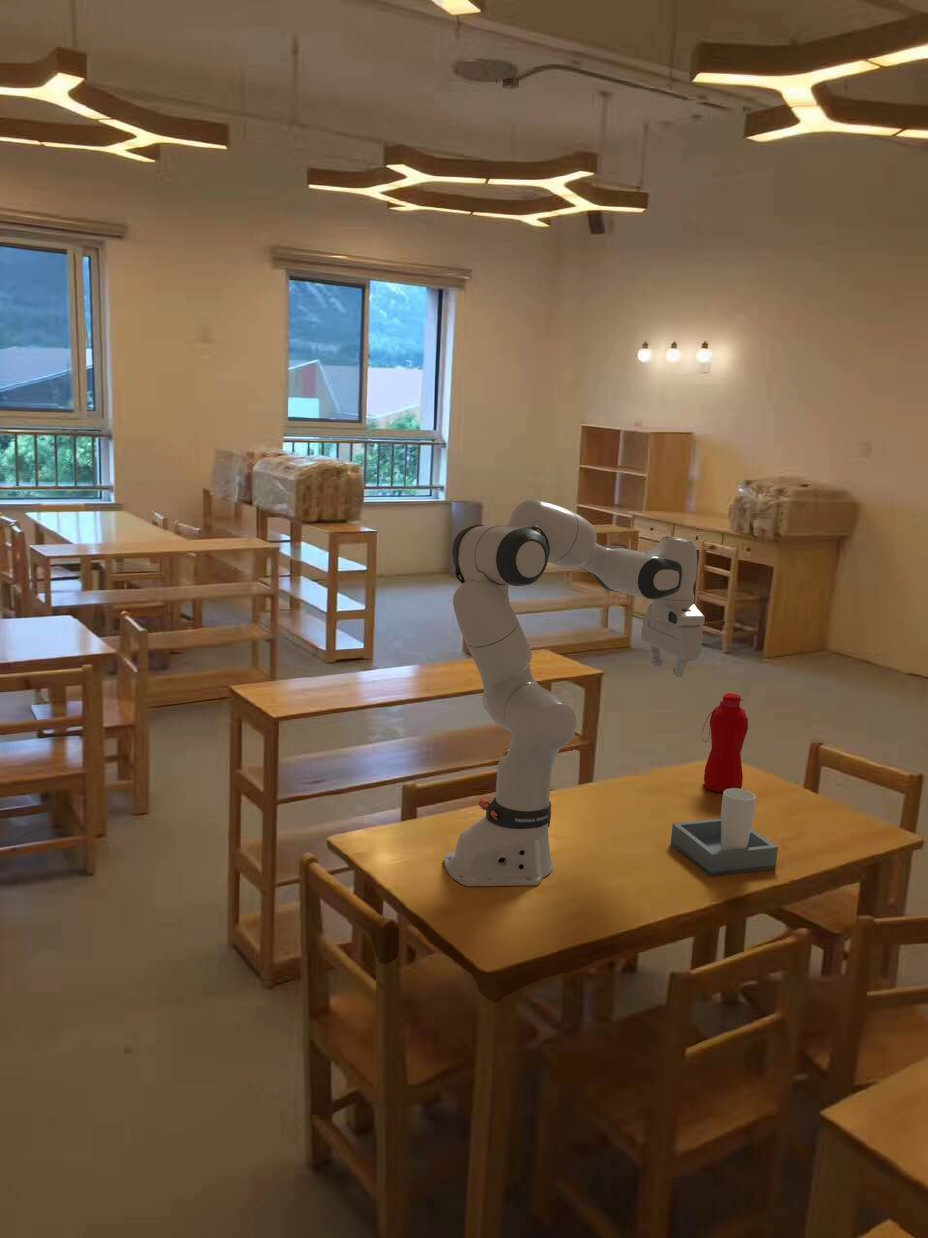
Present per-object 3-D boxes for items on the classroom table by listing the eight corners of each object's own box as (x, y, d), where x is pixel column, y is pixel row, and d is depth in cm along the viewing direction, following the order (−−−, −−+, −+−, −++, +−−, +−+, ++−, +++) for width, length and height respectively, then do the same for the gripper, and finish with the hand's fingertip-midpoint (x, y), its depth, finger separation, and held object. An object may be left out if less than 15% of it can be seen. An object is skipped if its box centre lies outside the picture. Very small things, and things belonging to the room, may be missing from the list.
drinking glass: (748, 869, 210) (756, 802, 207) (715, 864, 212) (722, 797, 209) (749, 856, 216) (756, 790, 213) (716, 851, 218) (723, 786, 215)
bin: (709, 877, 208) (712, 854, 207) (670, 844, 223) (672, 823, 222) (775, 869, 213) (778, 847, 212) (732, 837, 228) (735, 817, 227)
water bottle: (695, 779, 263) (705, 687, 258) (738, 783, 262) (748, 691, 257) (697, 792, 255) (707, 697, 249) (742, 796, 253) (752, 701, 248)
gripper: (637, 601, 230) (632, 659, 233) (683, 620, 211) (677, 683, 214) (661, 600, 232) (656, 658, 235) (709, 619, 213) (703, 682, 216)
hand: (666, 670), depth 225 cm, fingers open, 8 cm apart
